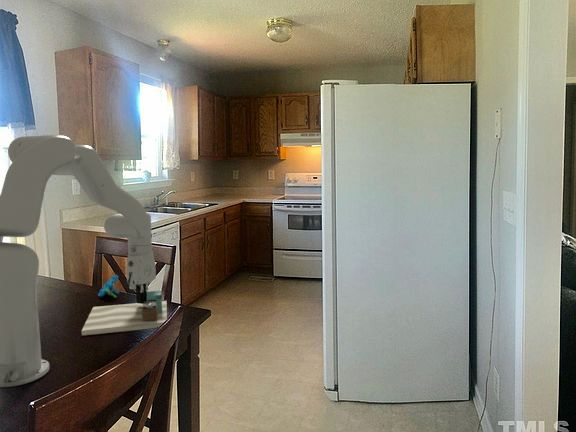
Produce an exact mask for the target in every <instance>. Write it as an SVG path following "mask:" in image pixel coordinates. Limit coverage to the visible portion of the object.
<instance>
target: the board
mask: <svg viewBox="0 0 576 432" xmlns="http://www.w3.org/2000/svg"><path fill="white" fill-rule="evenodd" d="M167 306H168V305H167V300H162V313H158V316H157V319H156V320H144V321H143V319H142V308H143V304H139V303H137V302H134V303H125V304H113V305H103V306H102V305H101V306H93V307H92V309H91V311H90V313H89V314H88V317H87V319H86V321H85V323H84V324H83V327H82V329H81V336H89V335H90V336H91V335H100V334H109V333H119V332H121V333H122V332H129V331H140V330H148V329H150V330H151V329H157V327H159V326H160V325H161V324H162V323H164V322H165V321H166V320H167V321H168V307H167Z"/></svg>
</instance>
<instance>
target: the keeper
mask: <svg viewBox="0 0 576 432" xmlns="http://www.w3.org/2000/svg"><path fill="white" fill-rule="evenodd" d="M162 295H163V294H162V290H154V291H152V290H151V291H147V300H156V304H157V313H162V301H163V298H162Z"/></svg>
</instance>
